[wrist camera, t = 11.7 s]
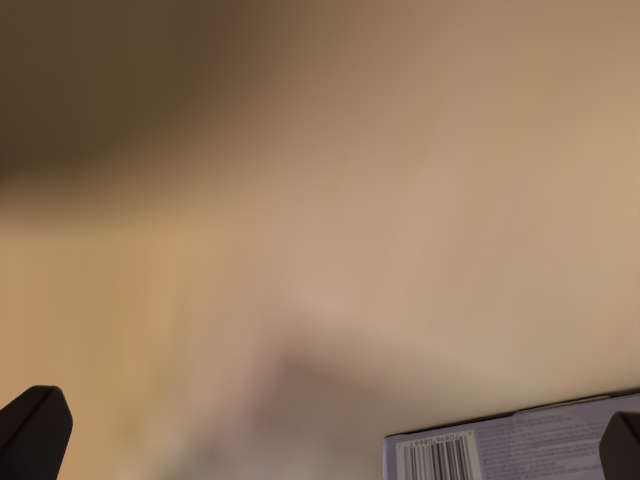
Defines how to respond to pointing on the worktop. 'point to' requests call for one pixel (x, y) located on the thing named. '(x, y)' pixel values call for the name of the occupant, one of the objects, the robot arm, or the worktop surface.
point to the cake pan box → (510, 445)
